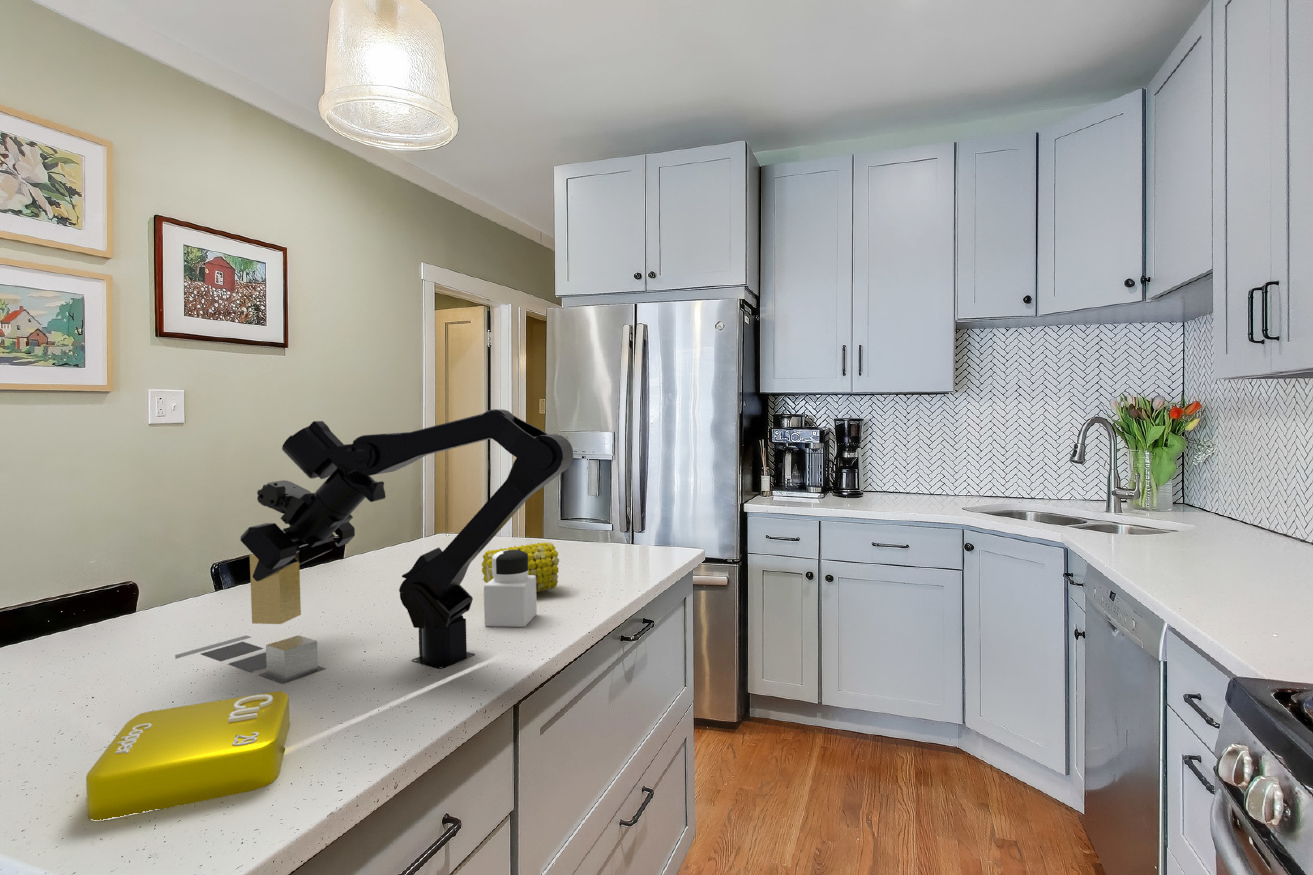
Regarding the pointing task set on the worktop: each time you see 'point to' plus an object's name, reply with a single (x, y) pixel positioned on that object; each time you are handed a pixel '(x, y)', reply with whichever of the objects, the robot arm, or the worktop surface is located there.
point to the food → (531, 564)
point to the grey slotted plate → (245, 664)
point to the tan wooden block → (275, 594)
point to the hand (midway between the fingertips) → (267, 574)
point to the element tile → (190, 755)
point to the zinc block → (291, 657)
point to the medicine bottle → (510, 591)
